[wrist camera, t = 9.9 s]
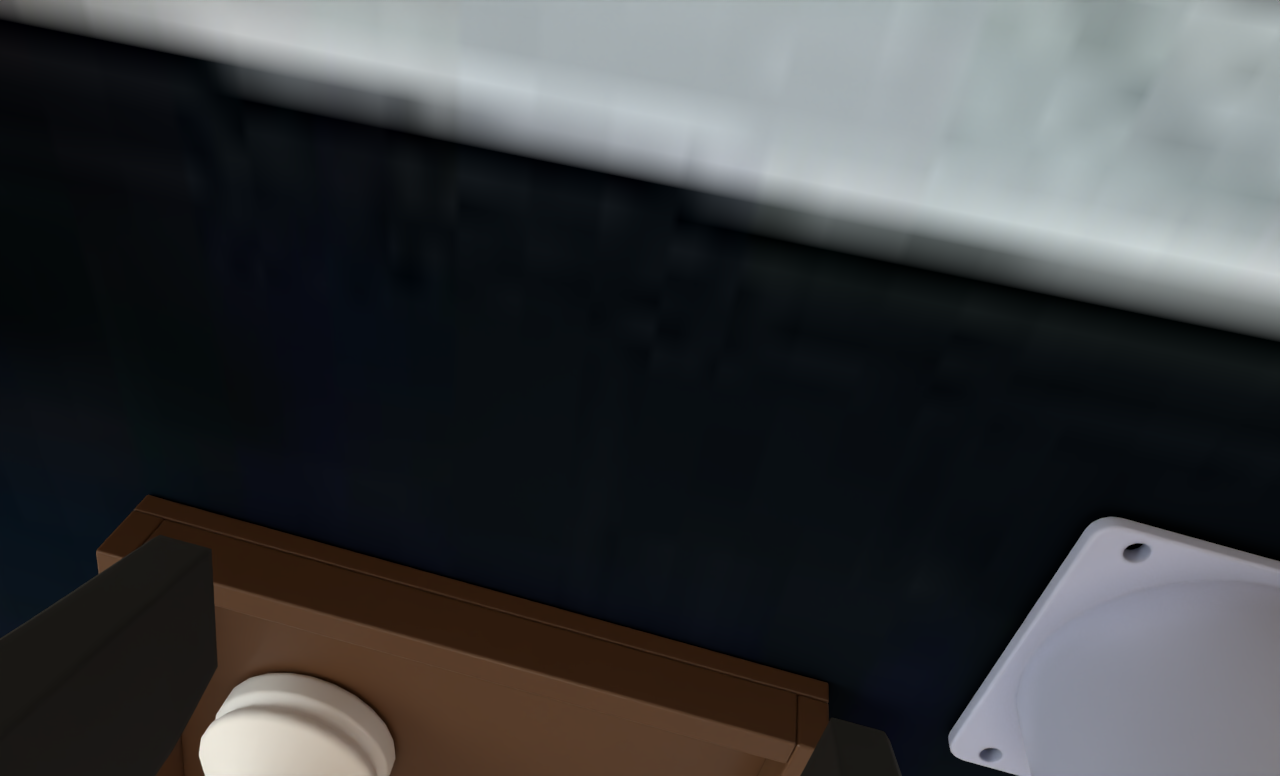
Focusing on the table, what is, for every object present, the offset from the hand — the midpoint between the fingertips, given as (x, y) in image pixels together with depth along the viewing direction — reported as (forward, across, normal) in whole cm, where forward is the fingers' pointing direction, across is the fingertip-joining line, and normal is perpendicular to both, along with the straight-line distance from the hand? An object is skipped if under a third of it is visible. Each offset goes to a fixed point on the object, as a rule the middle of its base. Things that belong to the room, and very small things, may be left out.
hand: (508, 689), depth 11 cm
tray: (+9, +2, +16) cm, 18 cm away
